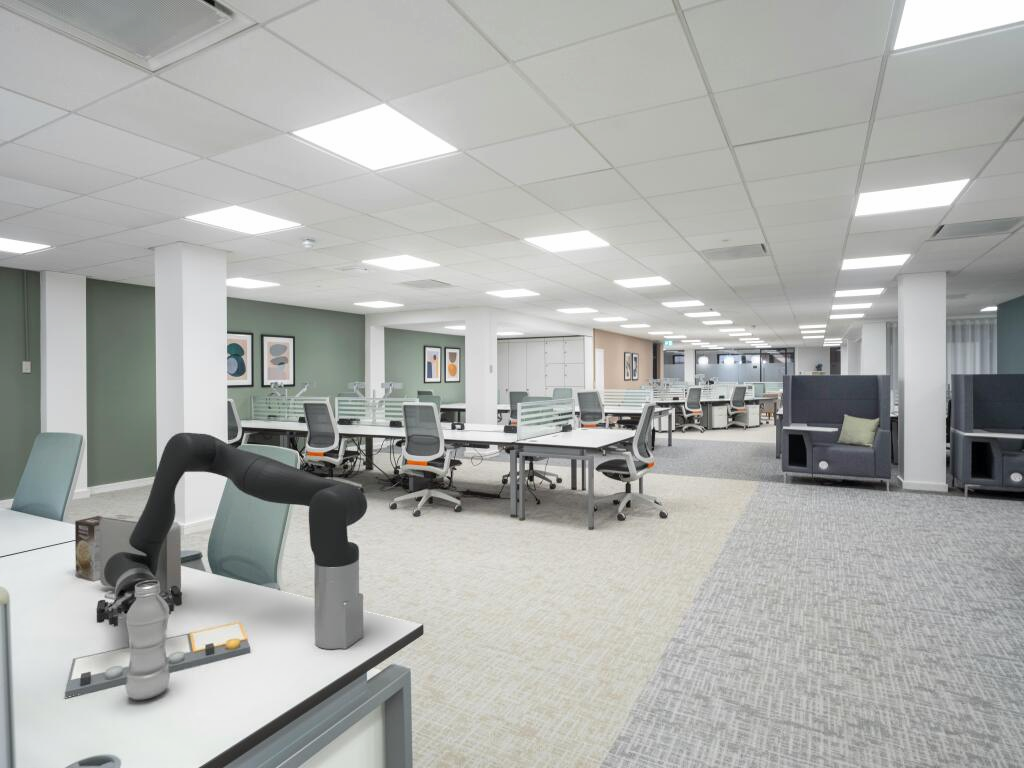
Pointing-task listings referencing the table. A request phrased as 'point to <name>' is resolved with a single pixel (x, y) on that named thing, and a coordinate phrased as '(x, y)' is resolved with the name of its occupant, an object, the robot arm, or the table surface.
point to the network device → (117, 540)
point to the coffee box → (88, 548)
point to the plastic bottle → (147, 642)
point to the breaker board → (179, 652)
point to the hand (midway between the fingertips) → (143, 615)
